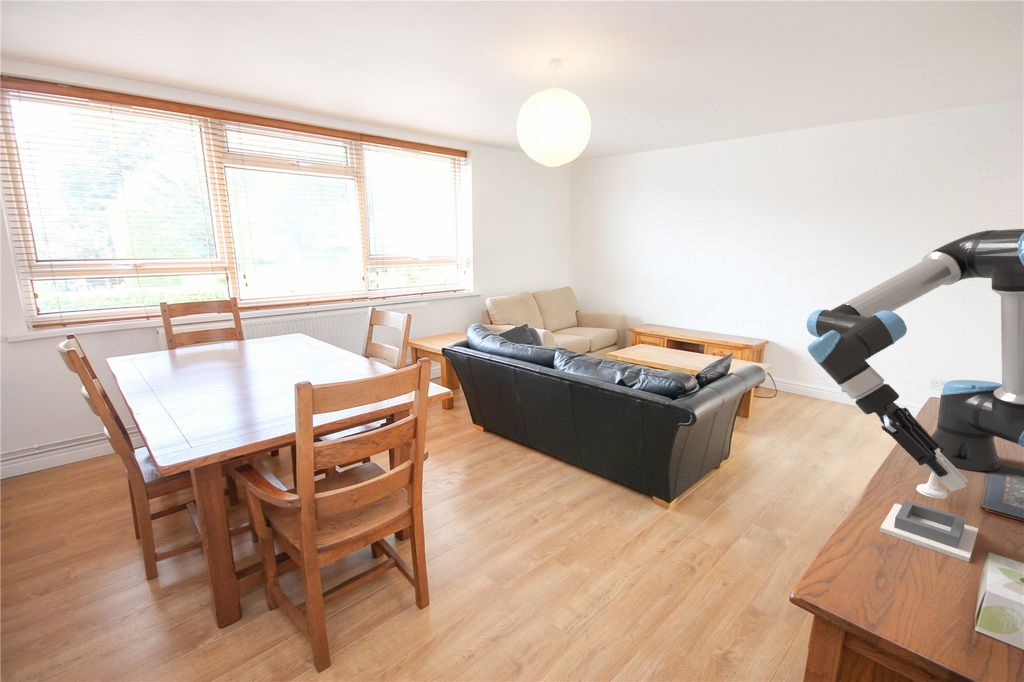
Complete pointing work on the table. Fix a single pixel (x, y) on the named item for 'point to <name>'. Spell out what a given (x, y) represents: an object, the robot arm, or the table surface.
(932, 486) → the chess piece
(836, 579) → the table surface
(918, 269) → the robot arm
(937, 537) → the socket board
